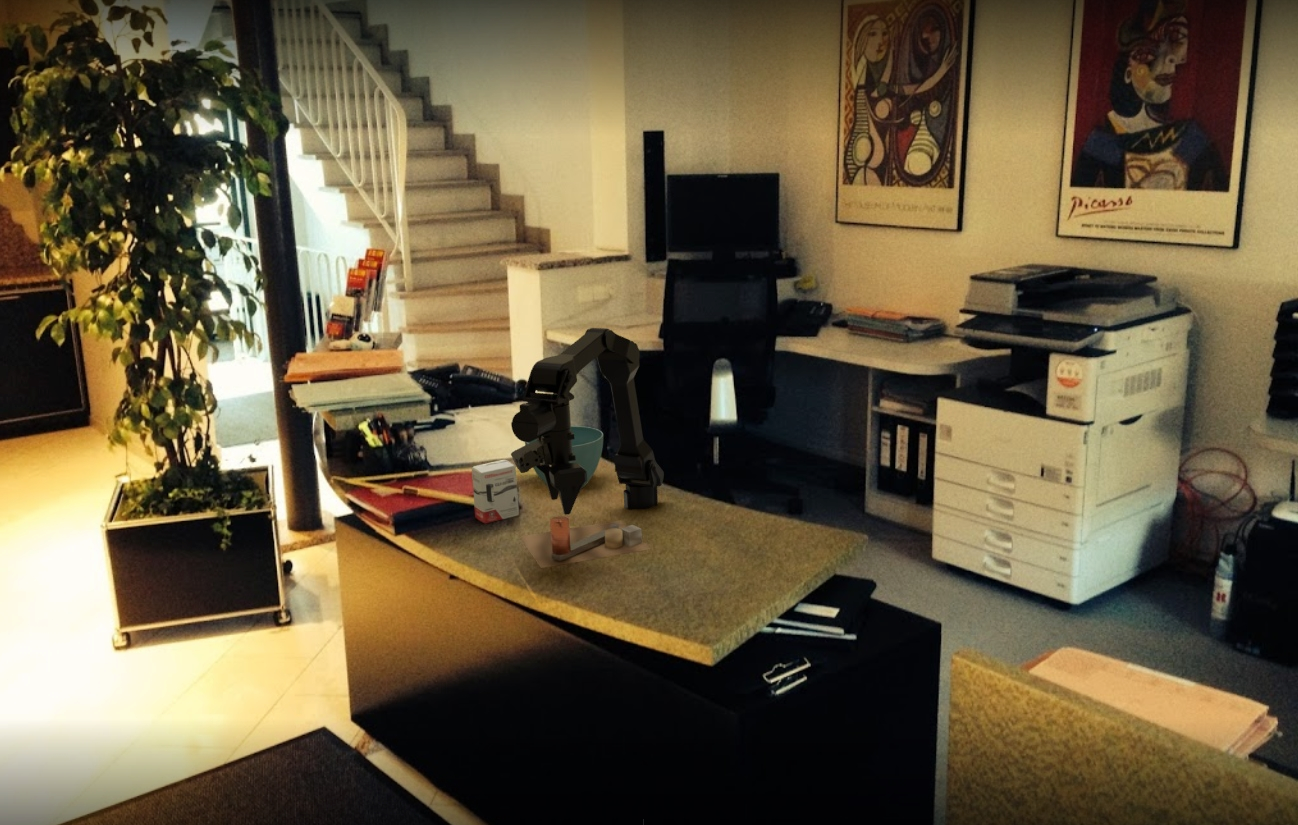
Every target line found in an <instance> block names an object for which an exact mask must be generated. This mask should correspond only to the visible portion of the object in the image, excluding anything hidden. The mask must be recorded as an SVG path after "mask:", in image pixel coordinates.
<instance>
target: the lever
mask: <svg viewBox="0 0 1298 825" xmlns="http://www.w3.org/2000/svg"><path fill="white" fill-rule="evenodd" d="M549 527H550V532H551V543H552V552H551V557H552V559H555V560H558V561H562V560H564V559H567V558H569V557H571V556H573V555H576V554H578V553H580V552H583V551H585V550H587V549H590V548H592V547H594V546H596V545H599V544H601V543H603V542H605V531H606V530H603V531H601V532H599V533H596V534H594V535H591V536H589V537H587V538H584V539H582V540H580V541H577V542H575V543H573V544H570V530H569V528H570V519H569V517H568V516H561V515H560V516H554V517H551V518H550V519H549Z"/></svg>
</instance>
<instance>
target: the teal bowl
mask: <svg viewBox="0 0 1298 825" xmlns="http://www.w3.org/2000/svg"><path fill="white" fill-rule="evenodd" d="M571 432H572V433H573V434H574V439H573V440H572V452H573V453H574V454H575V457H576V460H575V461H569V463H575V462H577V463H578V464H579V465H581V466H582V467H583V468H584V469H585V470H586V471H587V481H586V482H585V484H583V485H582V487H581V489H583V488H584V487H585V486H586V485H587V484H588V483H589V481H590V480H591V479H592V477H593V476H594V473H595V472H596V470H597V468H598V465H599V462H600V460H601V458H602V453H603V446H604V433H603V432H602V431H601V430H600V429H597V428H593V427H589V426H582V425H571ZM534 441H537V439H535V440H533V441H531V442H524V444H525V445H527V444H529V443H532V442H534ZM525 445H524V446H525ZM532 469H533V470H534V472H535V473H536V475H537V476H538V478H539V479H540V480H541V481H542V482H543V483H544V484H545V486H547V483H546V480H545V477H544V474H543V472H542V471H540V470H539V469H538V468H537V467H536V466H535V467H533V468H532Z"/></svg>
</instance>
